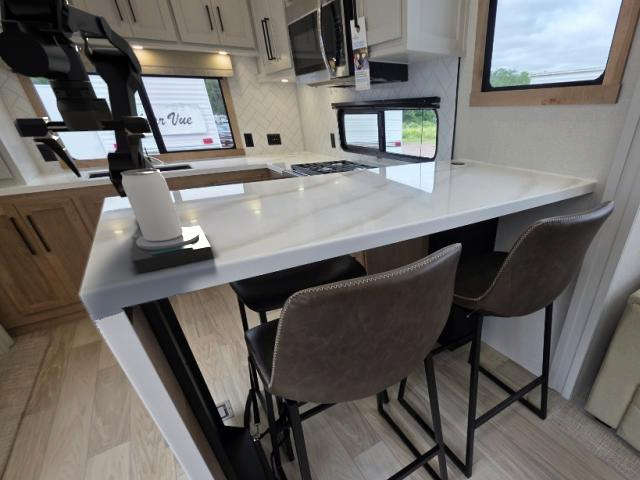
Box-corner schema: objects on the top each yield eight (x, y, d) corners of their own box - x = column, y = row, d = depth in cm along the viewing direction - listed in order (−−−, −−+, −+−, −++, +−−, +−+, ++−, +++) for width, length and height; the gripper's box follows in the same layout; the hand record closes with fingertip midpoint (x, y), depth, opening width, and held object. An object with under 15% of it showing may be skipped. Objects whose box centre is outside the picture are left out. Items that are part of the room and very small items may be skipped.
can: (191, 234, 65) (169, 170, 59) (156, 245, 60) (129, 176, 54) (172, 229, 68) (150, 167, 62) (138, 238, 63) (110, 172, 57)
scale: (136, 248, 67) (130, 233, 65) (202, 236, 73) (198, 222, 71) (138, 273, 57) (131, 256, 56) (214, 257, 63) (209, 242, 62)
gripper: (-22, 76, 47) (38, 188, 56) (135, 81, 57) (167, 176, 65) (-1, 79, 55) (49, 177, 63) (134, 83, 65) (163, 168, 73)
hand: (109, 174), depth 66 cm, fingers open, 9 cm apart
